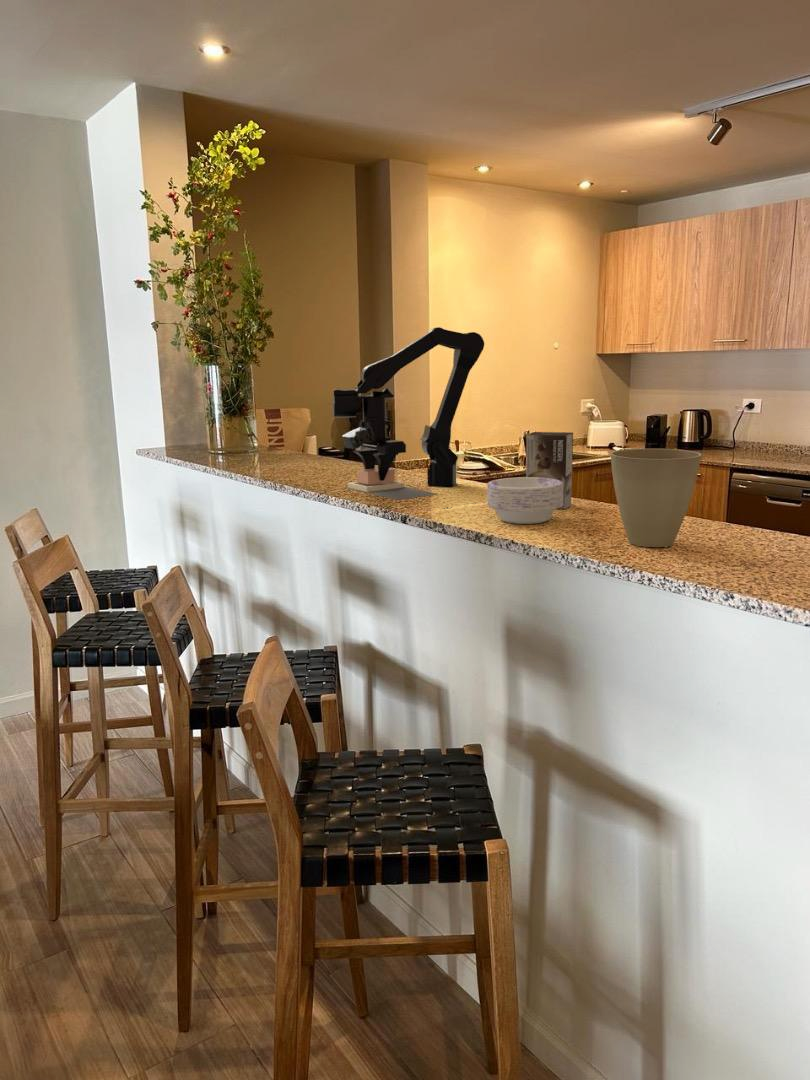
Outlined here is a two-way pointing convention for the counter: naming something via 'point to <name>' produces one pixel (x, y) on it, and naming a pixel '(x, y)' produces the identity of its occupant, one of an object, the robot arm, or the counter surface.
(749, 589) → the counter surface
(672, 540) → the plant pot
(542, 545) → the counter surface
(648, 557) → the counter surface
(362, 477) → the pink rectangular block
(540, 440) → the coffee box
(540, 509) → the paper bowls
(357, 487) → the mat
